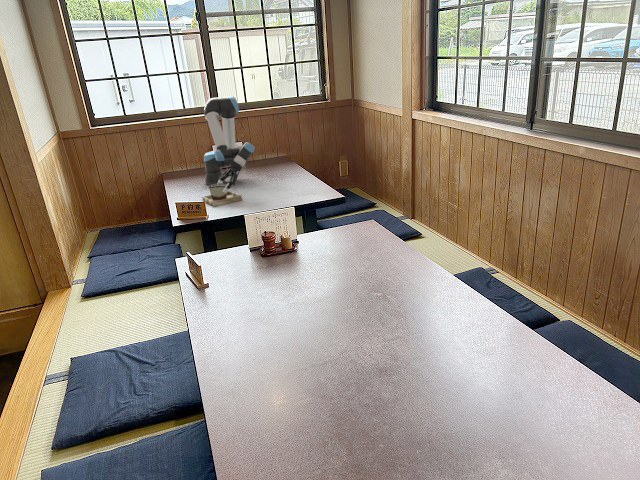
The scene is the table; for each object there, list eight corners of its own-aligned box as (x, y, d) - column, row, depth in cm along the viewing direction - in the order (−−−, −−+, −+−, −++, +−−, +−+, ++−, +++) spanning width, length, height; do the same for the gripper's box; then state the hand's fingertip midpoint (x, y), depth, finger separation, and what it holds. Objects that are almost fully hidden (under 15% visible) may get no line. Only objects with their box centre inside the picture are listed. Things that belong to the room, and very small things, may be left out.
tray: (202, 201, 319) (202, 196, 318) (230, 194, 329) (229, 190, 328) (213, 206, 305) (212, 202, 304) (242, 200, 315) (241, 195, 314)
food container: (230, 197, 320) (228, 182, 316) (228, 199, 314) (226, 184, 311) (212, 198, 321) (210, 183, 317) (210, 200, 315) (208, 185, 312)
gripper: (250, 169, 309) (232, 197, 307) (234, 164, 328) (216, 190, 326) (242, 163, 304) (223, 190, 302) (225, 158, 324) (208, 184, 322)
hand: (220, 190), depth 314 cm, fingers open, 13 cm apart
